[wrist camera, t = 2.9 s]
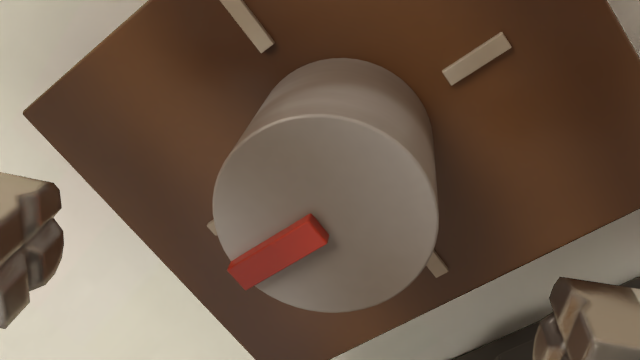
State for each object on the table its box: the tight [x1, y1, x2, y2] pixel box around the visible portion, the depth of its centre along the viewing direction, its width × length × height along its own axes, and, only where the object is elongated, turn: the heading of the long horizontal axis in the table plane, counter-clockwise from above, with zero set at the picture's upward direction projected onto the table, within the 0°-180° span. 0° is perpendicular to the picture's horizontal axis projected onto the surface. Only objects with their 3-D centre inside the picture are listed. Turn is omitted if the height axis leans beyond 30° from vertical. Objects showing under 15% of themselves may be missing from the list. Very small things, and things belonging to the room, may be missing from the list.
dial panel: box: [23, 0, 640, 360], centre depth 15 cm, size 12×10×3 cm
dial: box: [213, 58, 439, 313], centre depth 12 cm, size 4×4×4 cm
